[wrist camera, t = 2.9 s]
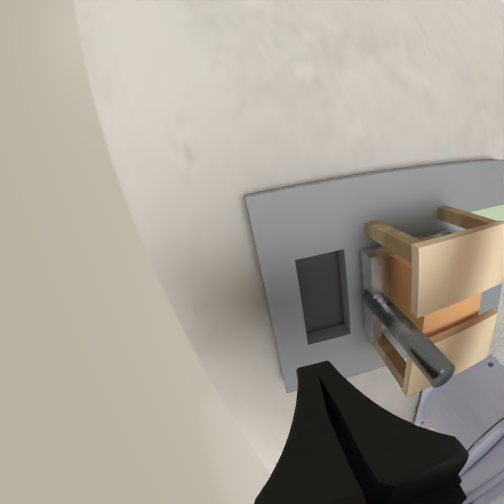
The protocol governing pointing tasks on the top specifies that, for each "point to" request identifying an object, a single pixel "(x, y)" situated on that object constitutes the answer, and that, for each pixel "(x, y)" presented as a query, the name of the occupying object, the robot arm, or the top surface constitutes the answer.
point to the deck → (352, 252)
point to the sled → (399, 314)
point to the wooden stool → (446, 287)
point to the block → (432, 321)
